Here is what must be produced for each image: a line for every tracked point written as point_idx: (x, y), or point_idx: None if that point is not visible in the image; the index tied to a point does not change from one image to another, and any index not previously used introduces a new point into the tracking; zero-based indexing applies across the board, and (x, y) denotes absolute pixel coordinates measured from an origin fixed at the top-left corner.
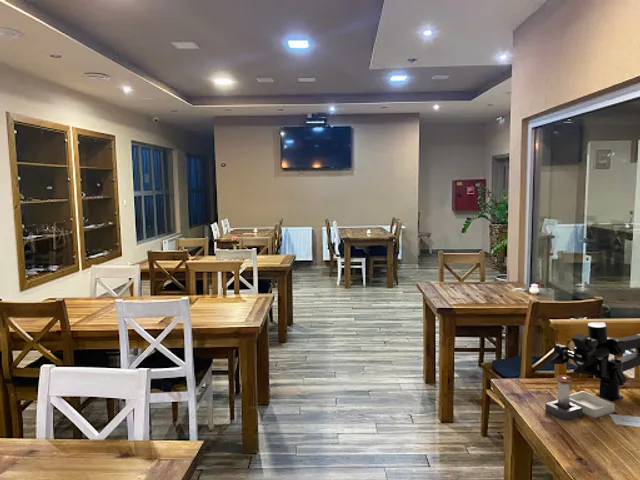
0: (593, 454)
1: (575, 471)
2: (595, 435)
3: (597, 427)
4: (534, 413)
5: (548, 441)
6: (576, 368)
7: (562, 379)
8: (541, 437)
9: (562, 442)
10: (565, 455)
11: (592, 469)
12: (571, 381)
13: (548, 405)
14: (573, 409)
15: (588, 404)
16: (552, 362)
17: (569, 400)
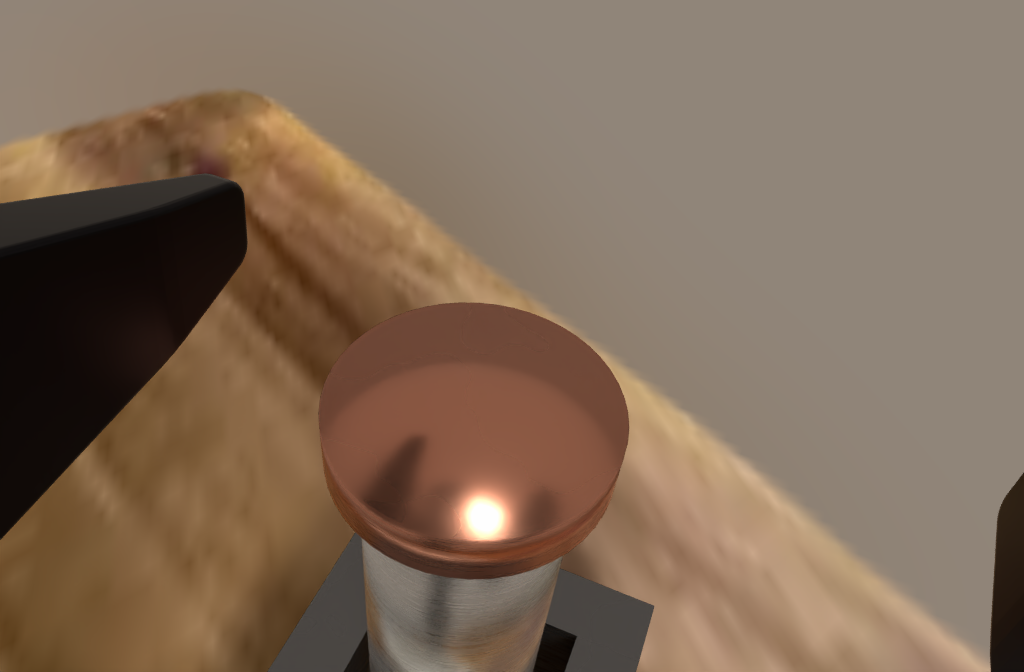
0: None
1: (222, 101)
2: (84, 465)
3: (42, 638)
4: (693, 561)
5: (412, 241)
6: (154, 181)
7: (468, 312)
8: (467, 259)
9: (329, 266)
10: (287, 173)
11: (138, 134)
12: (322, 455)
13: (606, 593)
14: (308, 641)
15: None
16: (1021, 519)
17: (368, 646)
